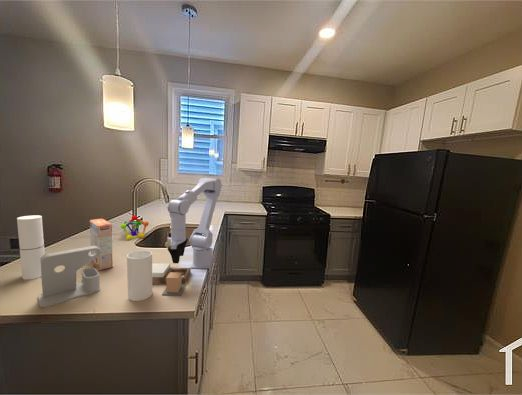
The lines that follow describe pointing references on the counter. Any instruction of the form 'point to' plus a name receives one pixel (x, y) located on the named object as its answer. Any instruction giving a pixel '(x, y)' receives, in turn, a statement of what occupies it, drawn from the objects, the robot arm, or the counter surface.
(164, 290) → the pad
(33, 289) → the counter surface
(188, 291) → the counter surface
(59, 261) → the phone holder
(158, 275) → the cover
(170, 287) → the block
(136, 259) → the cup
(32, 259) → the cylindrical container
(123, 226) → the educational toy
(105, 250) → the cracker box
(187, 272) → the wooden grid frame
